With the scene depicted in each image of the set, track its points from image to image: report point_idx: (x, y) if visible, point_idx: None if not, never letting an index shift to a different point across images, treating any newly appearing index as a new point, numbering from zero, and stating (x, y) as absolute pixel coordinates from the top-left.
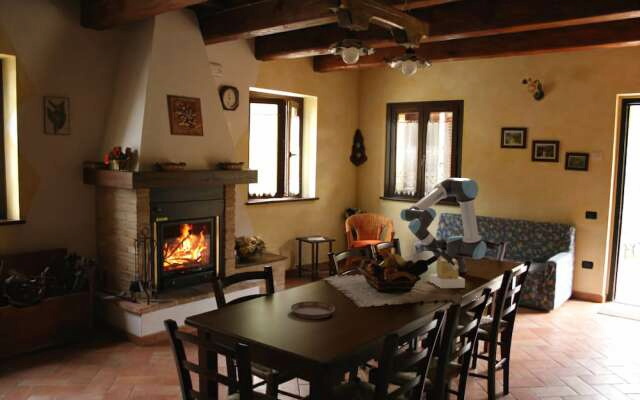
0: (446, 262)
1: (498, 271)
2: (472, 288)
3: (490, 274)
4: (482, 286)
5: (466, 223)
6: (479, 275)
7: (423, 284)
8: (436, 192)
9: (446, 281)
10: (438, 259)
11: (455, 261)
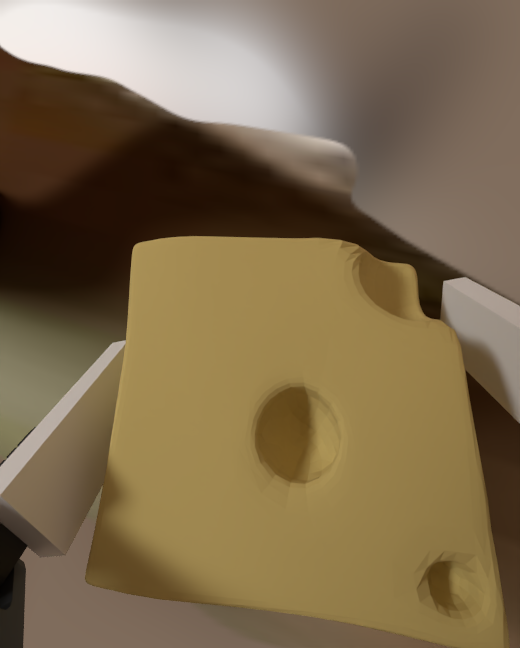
0: (476, 503)
1: (18, 61)
2: (392, 248)
3: (62, 97)
4: (325, 179)
5: None
6: (72, 145)
7: (300, 633)
8: None
9: None
10: (152, 594)
11: (358, 270)
